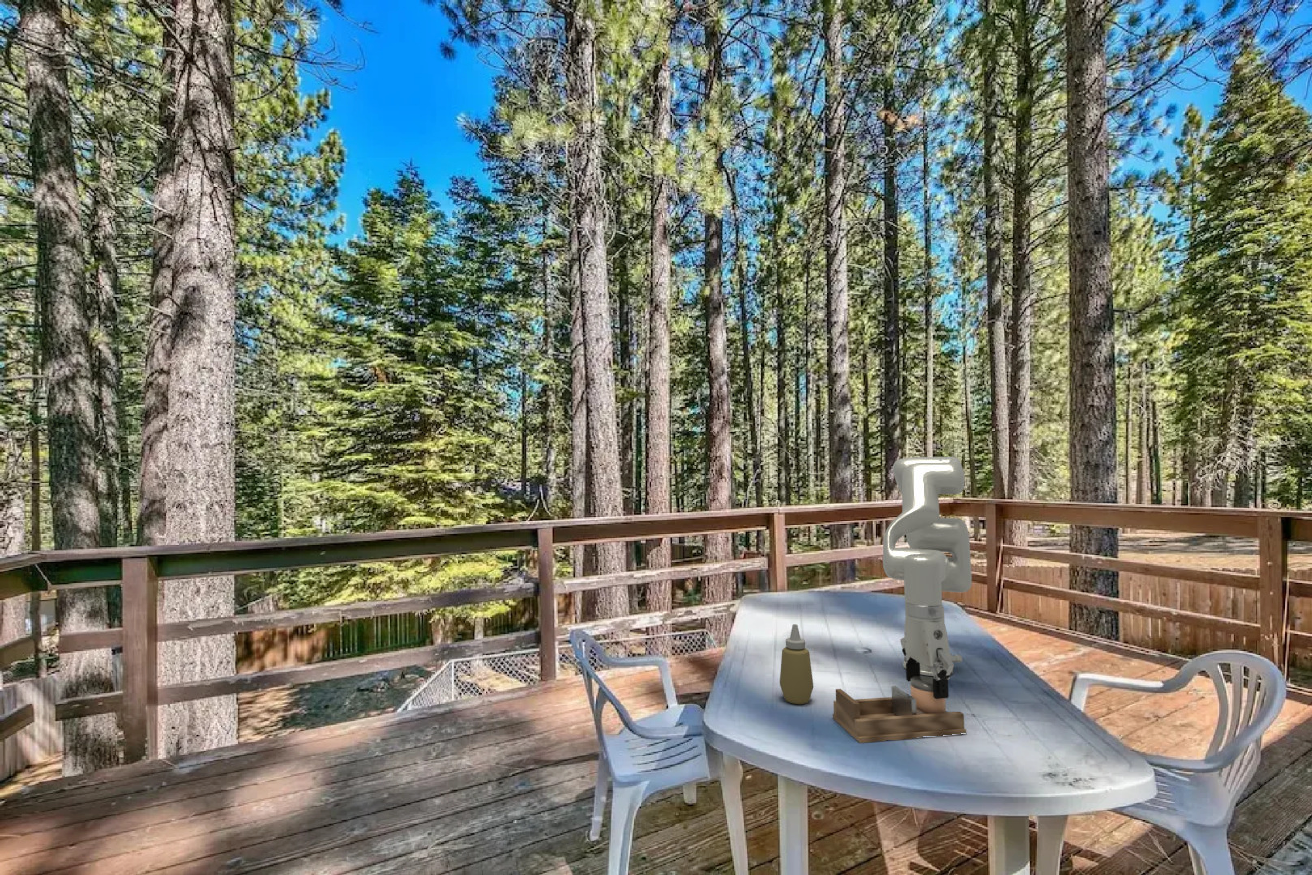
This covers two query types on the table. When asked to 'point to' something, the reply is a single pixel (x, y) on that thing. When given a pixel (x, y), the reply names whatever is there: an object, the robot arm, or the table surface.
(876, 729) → the wooden tray
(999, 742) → the table surface
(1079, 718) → the table surface
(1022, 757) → the table surface
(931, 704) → the jar
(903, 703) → the plate
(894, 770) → the table surface
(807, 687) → the squeeze bottle
